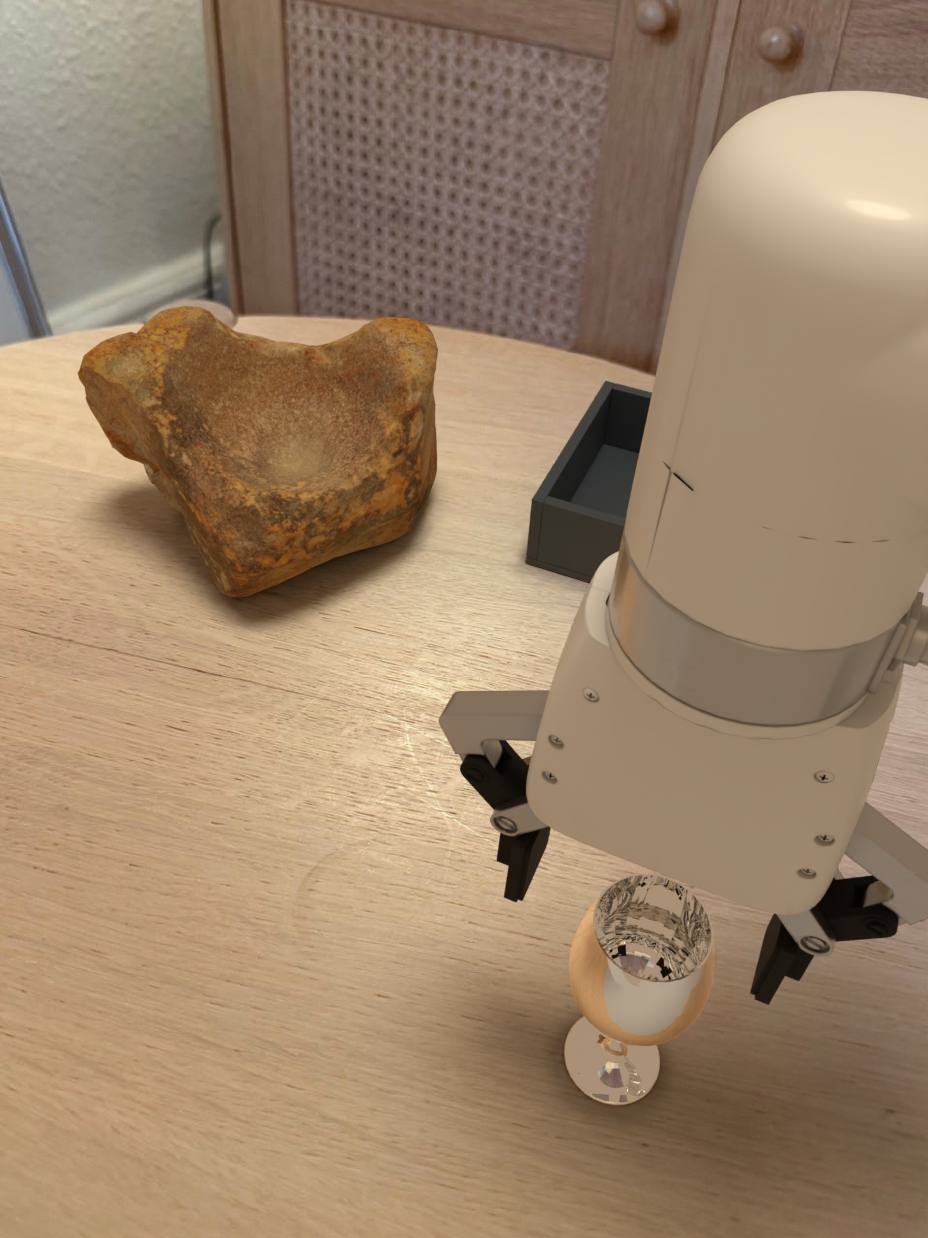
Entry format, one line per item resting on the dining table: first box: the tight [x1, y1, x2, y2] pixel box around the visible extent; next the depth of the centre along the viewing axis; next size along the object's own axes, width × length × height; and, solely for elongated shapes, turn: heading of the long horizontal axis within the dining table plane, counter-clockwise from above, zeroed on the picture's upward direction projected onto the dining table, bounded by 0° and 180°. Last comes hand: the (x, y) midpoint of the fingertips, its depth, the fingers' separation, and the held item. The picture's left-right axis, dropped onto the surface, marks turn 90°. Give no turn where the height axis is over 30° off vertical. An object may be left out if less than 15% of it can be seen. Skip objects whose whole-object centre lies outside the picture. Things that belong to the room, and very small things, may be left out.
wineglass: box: [563, 873, 716, 1106], centre depth 46 cm, size 6×6×12 cm
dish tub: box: [525, 380, 652, 584], centre depth 75 cm, size 16×16×6 cm
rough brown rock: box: [77, 305, 439, 598], centre depth 70 cm, size 23×17×15 cm
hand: (642, 918), depth 41 cm, fingers open, 9 cm apart
